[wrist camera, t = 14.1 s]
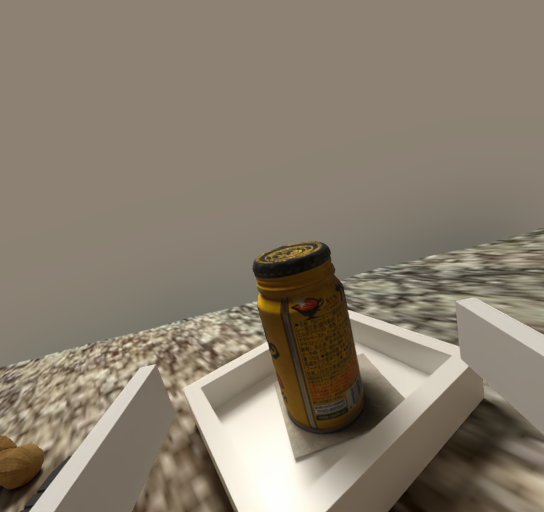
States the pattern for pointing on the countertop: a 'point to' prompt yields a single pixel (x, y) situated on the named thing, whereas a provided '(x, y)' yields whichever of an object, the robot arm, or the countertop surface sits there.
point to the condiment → (316, 350)
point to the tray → (345, 455)
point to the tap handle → (18, 463)
